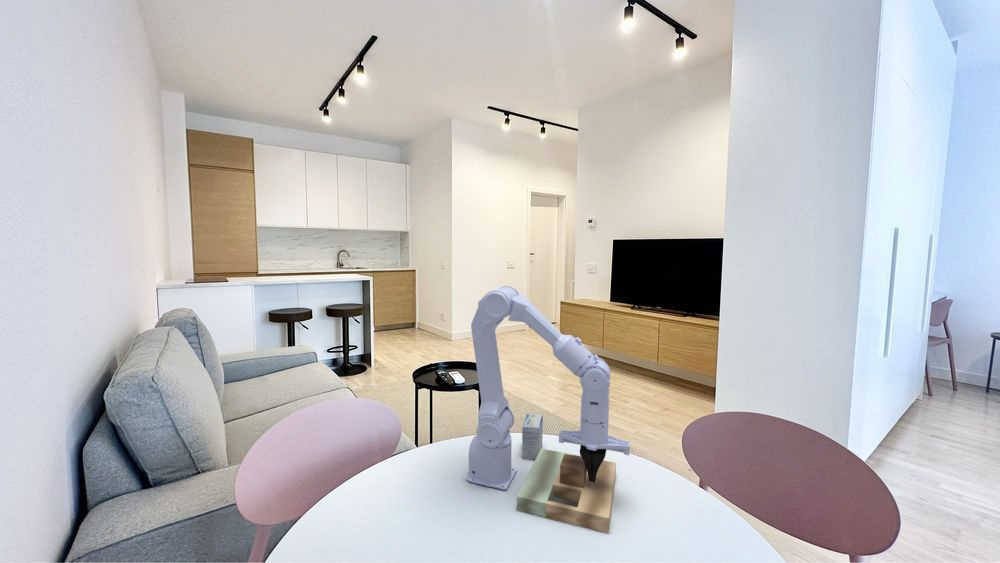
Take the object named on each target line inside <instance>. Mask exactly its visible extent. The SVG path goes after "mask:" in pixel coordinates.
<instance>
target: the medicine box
mask: <svg viewBox="0 0 1000 563" xmlns="http://www.w3.org/2000/svg"><path fill="white" fill-rule="evenodd" d="M543 420H544V419H543V414H538V413H537V414H535V413H526V416H525V418H524V423H523V425H522V427H521V428H522V432H521V433H522V435H521V438H522V439H521V440H522V444H521V449H522V452H521V453H522V454H521V455H522V457H521V458H522V459H525V460H532V461H533V460H534V461H535V460H536V458H537V456H538V454H539V452H540V450H541V449H543V425H544V424H543V423H544V421H543Z"/></svg>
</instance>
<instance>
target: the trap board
mask: <svg viewBox="0 0 1000 563" xmlns="http://www.w3.org/2000/svg"><path fill="white" fill-rule="evenodd" d="M564 454H569V455H574V456H580V457H581V455H577V454H572V453H566V452H561V451H556V450H552V449H545V448H542V449H541V450H540V452H539V454H538V456H537V458H536V460H534V462H533V463H532V466H531V468H530V469H529V471H528V473H527V476H526V478H525V480H524V482H523V484H522V486H521V488H520V490H519V492H518V494H517V495H516V511H517V512H522V513H526V514H529V515H533V516H536V517H541V518H545V519H549V520H554V521H557V522H562V523H565V524H570V525H573V526H576V527H577V526H578V527H581V528H585V529H589V530H593V531H596V532H597V531H598V532H601V533H604V534H609V532H610V525H611V515H612V508H613V499H614V491H615V483H616V474H617V473H616V472H617V470H616V469H617V462H612V461H610V460H605V459H604V460H603V462H602V463H601V465H600V467H599V469H598V472H597V475H596V481H595V482H591V481H589V478H588V473H587V476H586V480H585V484H584V488H580V487H575V486H571V485H566V484H561V483H560V465H561V462H562V459H563V456H564Z"/></svg>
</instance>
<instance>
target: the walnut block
mask: <svg viewBox="0 0 1000 563" xmlns="http://www.w3.org/2000/svg"><path fill="white" fill-rule="evenodd" d="M569 454H570V453H567V454H564V456H563V459H562V462H561V465H560V483H561V484H566V485H571V486H575V487H580V488H584V484H585V480H586V476H587V469H586V466H585V463H584V461H583V459H582V457H580V456H581V455H578V456H574V455H575V454H573V455H569Z"/></svg>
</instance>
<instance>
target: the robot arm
mask: <svg viewBox="0 0 1000 563" xmlns="http://www.w3.org/2000/svg"><path fill="white" fill-rule="evenodd" d="M477 305H478V306H477V309H476V311H475V313H474V316H473V319H472V321H471V324H470V326H471V328H470V330H471V336H472V343H473V350H474V358H475V365H476V366H475V367H476V372H477V380H478V388H479V394H480V401H481V403H480V406H479V411H478V415H477V417H478V425H477V427H476V432H475V433H476V435H474V436H473V438H472V440H471V441H470V444H469V449H468V477H467V479H466V481H467V482H468V483H473V484H477V485H482V486H485V487H489V488H493V489H498V490H503V491H507V490H508V488H509V487H510V485H511V483H512V481H513V479H514V477H515V475H516V473H517V470H518V469H516V468H512V443H513V442H512V436H511V432H510V429H511V428H513V426H514V424H515V416H514V413H513V411H512V410H511V408H510V406H509V400H508V399H507V397H505V394H504V387H503V386H504V385H503V379H502V372H501V365H500V359H499V358H500V357H499V349H498V342H497V337H496V329H497V328H498V326H500V324H501V323H502V322H503V321H504V319H505V318H507V317H508V318H507V319H508V322H509V321H510V322H517V323H519V322H520V323H524V324H525V325H527V326H528V327H529V328H531V330H532V331H534V332H535V333H536V334H538V335H539V336H540V337H541V338H542V339H543V340H544V341H545V342H547V343H548V344H549V346H550V345H551V347H552V354H553V356H554V357H555V358H556V359H557V360H558V361H560V363H561V364H562V365H564V366H565V367H566V368H567V369H568V370H569V371H570V372H571V373H572V374H573V375H574V376H575V377H577V378H579V382H580V385H581V387H582V394H581V396H580V421H579V422H580V423H579V424H580V426H579V427H580V428H579V430H560V431H559V433H558V443H561V444H564V443H569V444H575V445H580V447H579V448H580V449H579V456H581V457H582V459H583V461H584V463H585V466H586V469H587V473H588V478H589V481H591V482H595V481H596V475H597V472H598V469H599V467H600V465H601V463H602V462H603V460H604V461H605V458H606V456H607V450H608V451H613V452H617V453H623V455H625V456H630V452H631V451H630V450H631V449H630V448H631V442H630V441H626V440H623V439H620V438H617V437H613V436H610V435H609V420H610V419H609V417H610V389H609V388H610V386H611V381H610V380H611V368H610V366H609V364H608V363H607V362H606V360H605V359H603V358H600V357H599V356H598V355H597V354H596V353H595V354H593V353H592V352H591V351H590V350H589V349H587V348H586V347H585V346H584V345H583V343H582V339H581V338H579V337H578V336H577V337H574V336H573V335H572V334H562V333H561V331H559V329H557V328H556V326H554V324H552V322H550V320H548V318H547V317H545V316H544V314H542V313H541V311H539V309H538V308H536V307H535V305H533V303H531V302H530V300H529V299H528V298H527V297H526V296H524V295H523V294H522V293H519V291H518V290H517V289H516V288H514V287H513V286H509V285H506V286H505V285H504V286H502V287H500V288H497V289H494V290H493V289H492V290H490V291H488V292H487V293H486V294H484V296H482V298H481V299H479V300H478V303H477Z"/></svg>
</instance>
